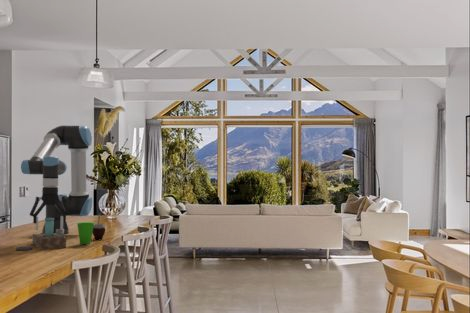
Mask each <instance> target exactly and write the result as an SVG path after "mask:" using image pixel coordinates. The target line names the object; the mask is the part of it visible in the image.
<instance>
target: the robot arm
mask: <svg viewBox="0 0 470 313" xmlns="http://www.w3.org/2000/svg"><path fill="white" fill-rule="evenodd" d="M43 137H44V138H43V142H42V143H41V144H40V145H39V147H38V148H37V149H36V150H35V152H34V153H33V155H31V158H30V159H25V160H24V159H23V160H22V161H21V163H20V169H21V173H22V174H23V175H42V191H41V192H42V193H41V194H42V195H41V196H35V201H34V203H33V206H32V208H31V210H30V213H29V216H30V217H33V220H32V223H33V224H35V225H34V228H35V231H38V230H39V216H38V215H39V214H40V213H41V211H42V210H43V209H44V207H45V218H54V227H53V233H56V229H64V235H66V234H69V232H70V229H69V224H68V223H67V217H70V216H71V217H87V216H88V215H90V214H91V211H92V207H93V197H91V196H90V193H89V192H88V191H87V150H89V146H91V145H92V141H93V140H92V137H93V136H92V132H91V130H90V128H89V127H88V126H86V125H59V126H56V127H55V128H52V129H51V130H48V132H46V134H45V135H44V136H43ZM60 146H67V148H68V150H69V151H70V165H71V166H70V176H71V177H70V179H71V182H70V183H71V187H70V188H71V191H70V192H69V193H68V196H67V193H62V194H59V187H58V186H59V176H60V175H63V174H65V173H66V171H67V168H68V167H67V164H66V163H65V162H64V161H62V160H60V159H59V157H58V156H51V155H52V153H54V151H55V149H57V148H58V147H60ZM41 201H42V203H41V204H40V206H39V207H38V205H39V203H40V202H41ZM41 234H45V223H44V224H43V227H42V230H41Z"/></svg>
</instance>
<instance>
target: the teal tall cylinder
mask: <svg viewBox="0 0 470 313" xmlns="http://www.w3.org/2000/svg"><path fill="white" fill-rule="evenodd" d="M44 224H45V237H51V236H53V227H54V218H46V217H44Z"/></svg>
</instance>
